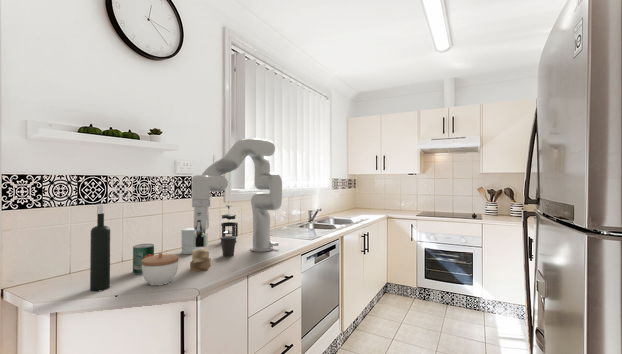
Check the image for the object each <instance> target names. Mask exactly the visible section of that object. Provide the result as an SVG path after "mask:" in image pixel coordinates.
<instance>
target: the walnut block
mask: <svg viewBox="0 0 622 354" xmlns="http://www.w3.org/2000/svg"><path fill="white" fill-rule="evenodd" d="M211 262H212V259H211V257H209V261H203V262H195V263H194V262H193V260H192V259H191V261H190V262H189V270H190V271H189V272H207V271H208V270H209V269H210V268H211V267H212V266H211Z"/></svg>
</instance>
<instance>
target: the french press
mask: <svg viewBox="0 0 622 354" xmlns="http://www.w3.org/2000/svg"><path fill="white" fill-rule="evenodd" d="M226 207H227V209H228V212H227V214H222V215H221V219H222V220H224V219H227V221H226V222H221V224H220V226H221V237H223V236H226V235H231V236H234V237H236V238H237V237H238V236H239V235H238V234H239V233H238V232H239V231H238V229H239V226H238V225H239V224H238V222H232V220H235V219H236V216H237V214H230V207H232V205H230V204H229V205H226ZM230 220H231V222H230ZM226 227H227V228H228V230H227V231H226ZM230 227H231V230H230ZM220 244H221V245H222V243H221V242H220ZM235 244H237V240H236V241H235Z"/></svg>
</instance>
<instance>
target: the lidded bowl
mask: <svg viewBox="0 0 622 354" xmlns="http://www.w3.org/2000/svg"><path fill="white" fill-rule="evenodd" d="M179 260H180V259H179V255H177V254H172V253H171V254H168V253H167V254H165V253H164V254H163V252H159V253H158V254H156V255H155V254H154V256H150V257H146V258H144V259H142V260H141V264H142V274H141V275H142V276H143V279H144V280H145V281H146V282H147V283H148V284H149V285H150V286H152V285H159V286H164V285H163V284H165V285H167V283H168V284H169V282H170V283H171V281H172V280H173V279H174V278H175V276H176V275H177V272H178V267H179Z"/></svg>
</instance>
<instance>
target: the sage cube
mask: <svg viewBox="0 0 622 354" xmlns="http://www.w3.org/2000/svg"><path fill="white" fill-rule="evenodd" d="M208 234H209V233H207V232H206V233H205V234H203V237H204V246H203V247H202V248H206V247H208V243H209V242H208V239H209V235H208ZM194 247H196V234H195V235H194Z"/></svg>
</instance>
